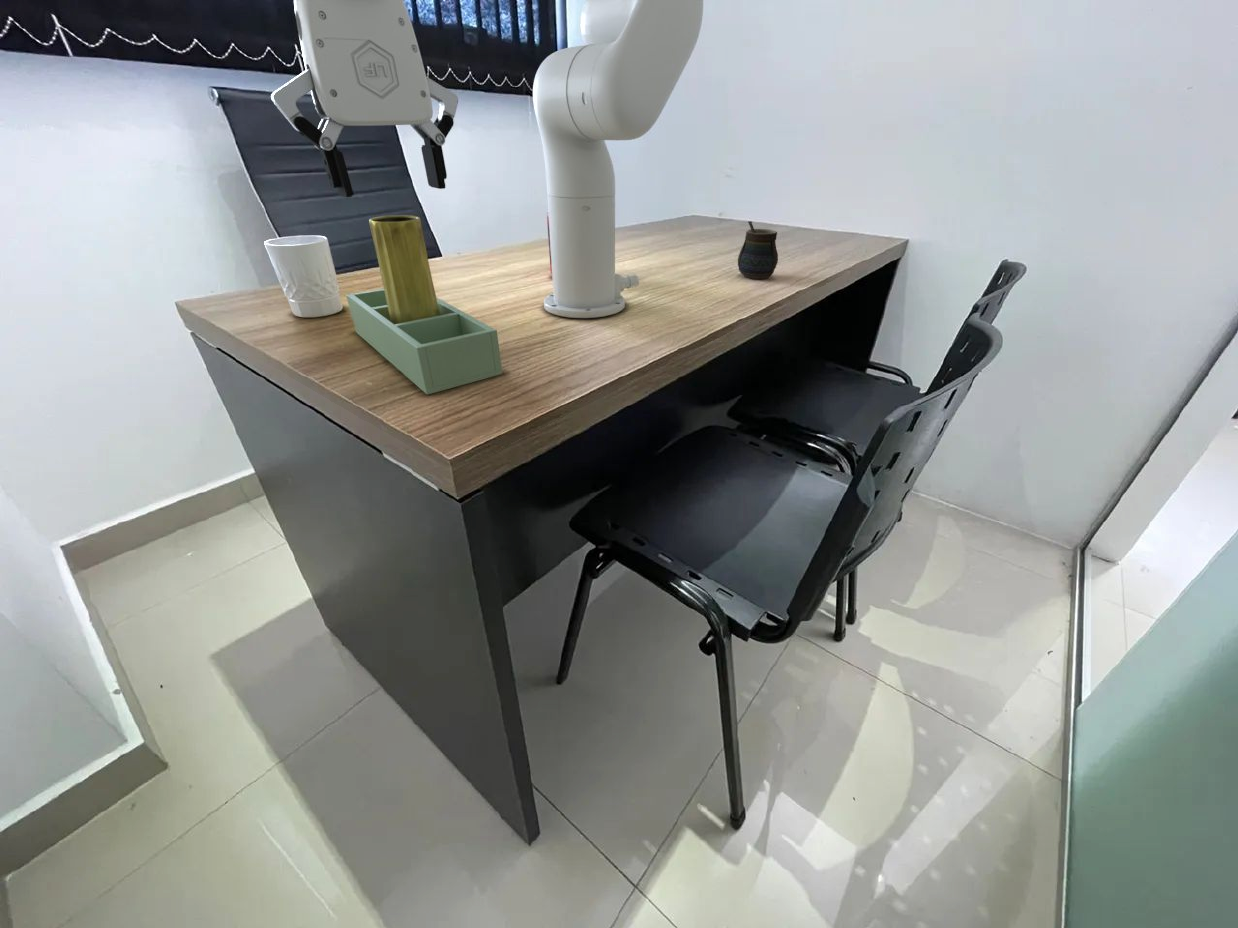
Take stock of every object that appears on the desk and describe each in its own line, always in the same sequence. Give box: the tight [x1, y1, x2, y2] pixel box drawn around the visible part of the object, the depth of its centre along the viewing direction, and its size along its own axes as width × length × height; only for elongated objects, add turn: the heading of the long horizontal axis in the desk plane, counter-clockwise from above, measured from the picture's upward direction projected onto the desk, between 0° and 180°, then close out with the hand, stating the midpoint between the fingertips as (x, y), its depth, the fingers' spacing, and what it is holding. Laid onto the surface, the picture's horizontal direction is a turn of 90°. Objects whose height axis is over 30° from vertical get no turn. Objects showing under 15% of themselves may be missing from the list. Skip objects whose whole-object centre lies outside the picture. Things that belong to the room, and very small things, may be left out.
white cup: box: [263, 235, 344, 319], centre depth 75 cm, size 8×8×10 cm
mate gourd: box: [737, 220, 779, 280], centre depth 94 cm, size 7×8×10 cm
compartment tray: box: [345, 288, 503, 396], centre depth 62 cm, size 9×25×5 cm, turn 39°
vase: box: [368, 214, 440, 325], centre depth 59 cm, size 6×6×14 cm
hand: (393, 191), depth 54 cm, fingers open, 9 cm apart
